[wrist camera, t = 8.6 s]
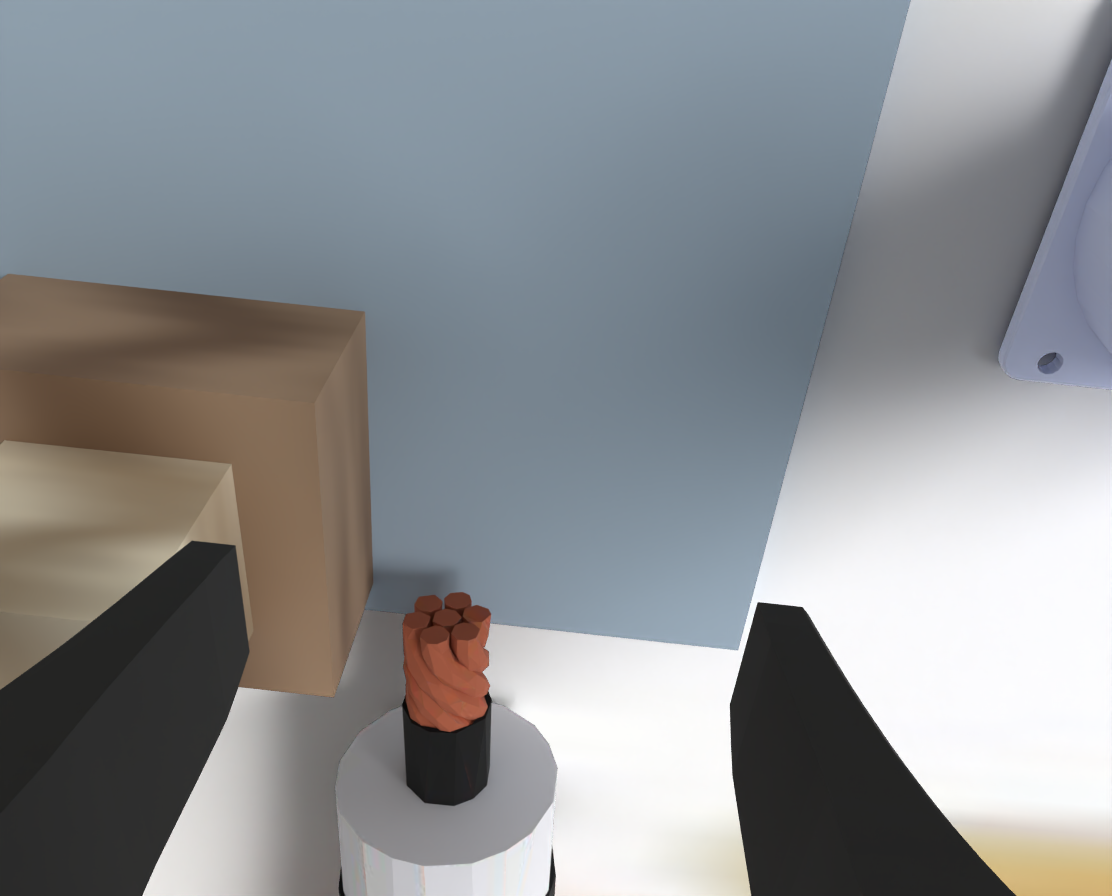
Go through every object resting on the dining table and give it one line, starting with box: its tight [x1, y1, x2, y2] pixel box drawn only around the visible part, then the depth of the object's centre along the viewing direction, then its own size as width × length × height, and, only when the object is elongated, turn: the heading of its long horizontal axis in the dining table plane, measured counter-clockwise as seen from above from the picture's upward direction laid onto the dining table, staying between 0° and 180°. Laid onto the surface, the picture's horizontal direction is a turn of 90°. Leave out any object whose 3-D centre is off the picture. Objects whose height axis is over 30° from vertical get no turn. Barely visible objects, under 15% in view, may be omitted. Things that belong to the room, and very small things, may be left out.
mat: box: [0, 0, 911, 650], centre depth 21 cm, size 22×20×1 cm
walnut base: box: [0, 274, 373, 697], centre depth 22 cm, size 8×8×4 cm
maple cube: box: [0, 440, 254, 689], centre depth 18 cm, size 4×4×4 cm
